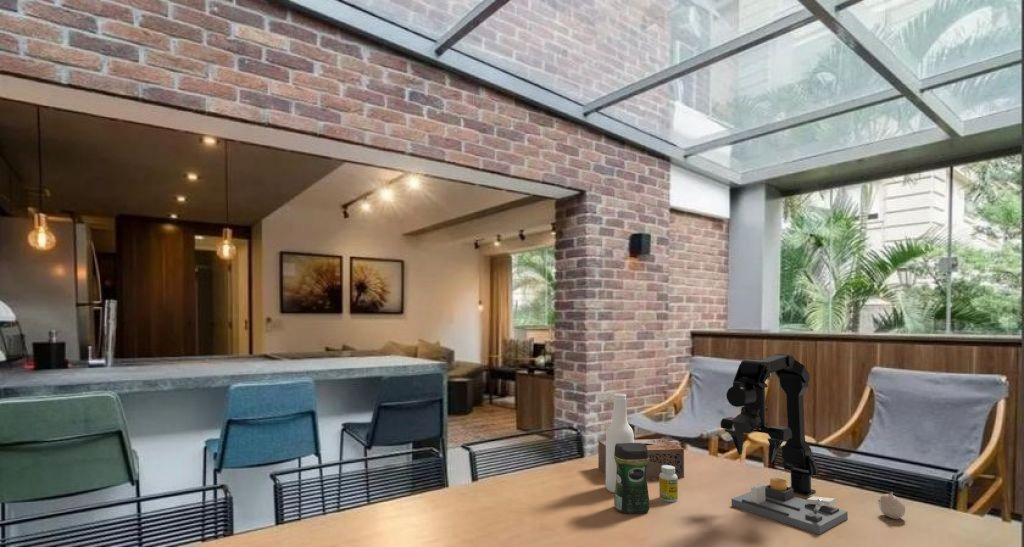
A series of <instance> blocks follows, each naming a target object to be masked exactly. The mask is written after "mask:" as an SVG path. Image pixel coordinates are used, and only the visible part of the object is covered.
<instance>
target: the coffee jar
mask: <svg viewBox="0 0 1024 547" xmlns="http://www.w3.org/2000/svg"><path fill="white" fill-rule="evenodd" d="M614 459H615V461H616V466H617V474H616V487H615V493H614V499H613V501H614V503H613V506H614V507H615V509H616V510H617V511H618V512H620V513H623V514H641V513H644V514H645V513H648V512H649V510H650V506H651V505H650V497H649V496H650V494H649V487H648V479H647V464H648V461H649V456H648V449H647V446H646V445H644V444H642V443H617V444H616V445H615V452H614Z"/></svg>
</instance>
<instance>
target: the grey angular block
mask: <svg viewBox="0 0 1024 547" xmlns="http://www.w3.org/2000/svg"><path fill="white" fill-rule="evenodd" d="M765 486H766V485H765V484H761V483H759V484H756V485H753V486H751V487H750V492H751V502H754V503H757V504H759V503H762V502H764V501H765Z"/></svg>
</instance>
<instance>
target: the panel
mask: <svg viewBox="0 0 1024 547" xmlns="http://www.w3.org/2000/svg"><path fill="white" fill-rule="evenodd" d="M789 487H790V486H787V491H784V492H781V491H778V490H774V489H771V488H770V484H767V485H765V501H764V502H762V503H759V504H757V503H754V502H751V491H749V492H746V493H744V494H741V495H738V496H735V497H733V498H731V506H732V507H734V508H737V509H740V510H743V511H746V512H749V513H752V514H755V515H759V516H762V517H764V518H766V519H767V518H768V519H771V520H774V521H777V522H780V523H784V524H787V525H789V526H792V527H795V528H798V529H801V530H804V531H808V532H811V533H812V534H813V533H814V534H816V535H821V534H823V533H825V532H827V531H828V530H831V529H832V528H834V527H836V526H838V525H839V524H842V523H843V522H845V521H846V520H848V518H849V517H848V511H847V510H844V509H840V507H839V508H838V507H836V506H833V505H832V506H821V507H820V509H819V511H818V512H817V514H814V513H813V510H814V508H815V506H816V505H815V504H807V499H804V498H801V497H797V496H795V492H794V489H793V488H789Z"/></svg>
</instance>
